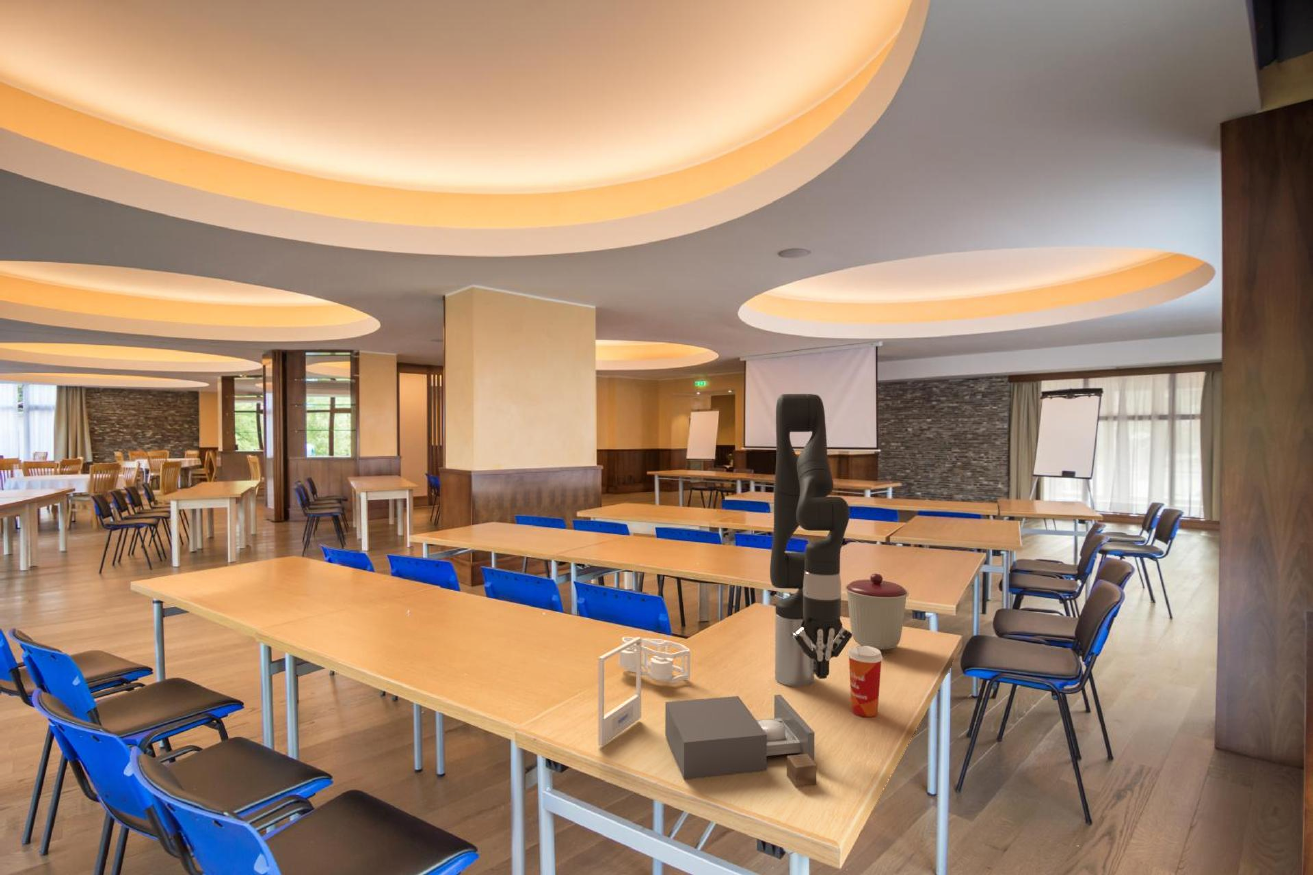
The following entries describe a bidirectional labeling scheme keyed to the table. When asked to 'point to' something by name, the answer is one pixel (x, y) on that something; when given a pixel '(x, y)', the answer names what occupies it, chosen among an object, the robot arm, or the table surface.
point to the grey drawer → (791, 731)
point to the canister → (876, 612)
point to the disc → (773, 730)
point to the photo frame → (626, 711)
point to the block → (801, 770)
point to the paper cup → (864, 679)
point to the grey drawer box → (714, 737)
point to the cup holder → (656, 660)
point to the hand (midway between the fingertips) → (821, 677)
